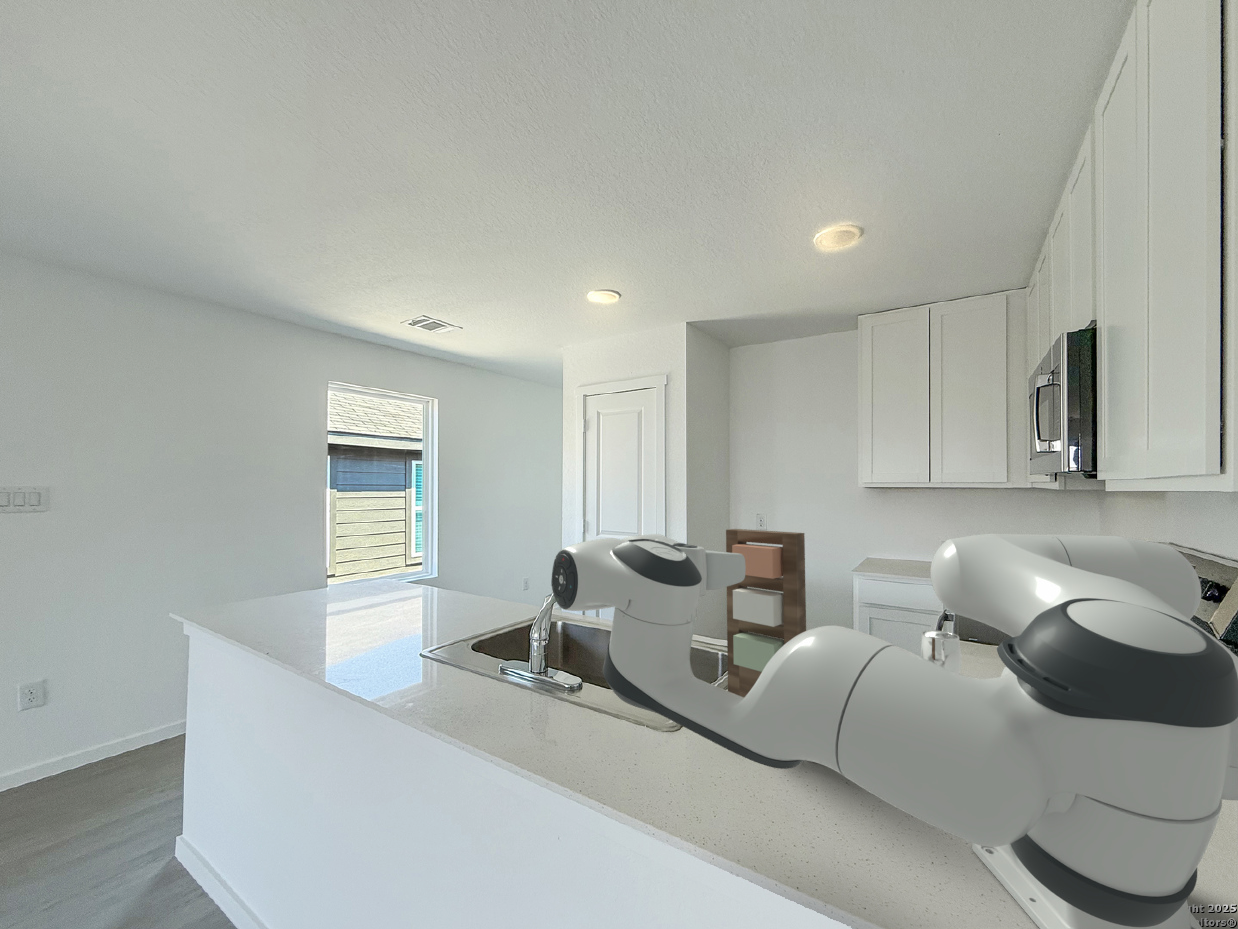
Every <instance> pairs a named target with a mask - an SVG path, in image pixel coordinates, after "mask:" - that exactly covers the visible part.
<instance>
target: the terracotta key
mask: <svg viewBox="0 0 1238 929" xmlns="http://www.w3.org/2000/svg"><path fill="white" fill-rule="evenodd" d="M732 553H739V554H742V555H743V556H744V558H745V565H746V572H745V575H749V576H756V577H764V578H771V579H774V578H778V577H783V546H778V545H777V546H776V545H768V544H767V545H765V544H764V545H763V544H756V543H752V544H751V543H747V544H738V545H732Z"/></svg>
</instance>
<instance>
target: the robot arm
mask: <svg viewBox="0 0 1238 929" xmlns="http://www.w3.org/2000/svg"><path fill="white" fill-rule="evenodd" d="M745 572H746V565H745V558H744V556H743V555H742V554H739V553H727V552H726V551H725V552H724V551H716V550H709V549H708V550H707V549H706V548H704V547H703V546H697V545H692V544H687V543H685V542H680V541H677V540H674V539H672V538H668V537H667V536H665V535H663V534H660V533H652V534H642V535H631V536H630V535H629V536H627V537H624V538H622V539H620V538H613V537H608V538H600V539H599V538H598V539H592V540H587V541H582V542H577V543H574V544H570V545H568V546H565V547H564V548H562V549H560V551H558V553H557V554H556V556H555V557H554V560H553V564H552V571H551V584H550V586H551V590H552V594H553V597H554V600H555V602H556V604H557V605H558V606H559V608H560V609H562V610H564V611H570V612H582V611H583V612H585V611H596V610H597V611H598V610H604V609H610V608H614V610H613V616H612V617H613V618H612V625H611V630H610V639H609V642H608V645H607V649H606V653H605V658H604V662H603V666H602V675H603V677H604V679H605V681H606V683H607V685H608V686H609V688H610V689H611V691H612V692H613V693H614V694H615V695H616V696H617V698H618V699H620V700H621V701H623V702H624V703H625V704H628V705H630V706H633V707H636V708H639V709H642V710H645V711H649V712H653V713H655V714H658V715H660V716H662V717H664V718H666V719H668V720H670V721H671V722H674V723H676V725H677V724H678V725H679V726H681V727H684V728H685V729H687V730H689V731H691V732H693V733H695V734H697V735H699V736H701V737H703V738H705V739H707V740H708V741H710V742H712V743H714V744H716V745H718V746H720V747H722V748H724V749H726V750H728V751H730V752H732V753H735V754H736V755H738V756H740V757H743V758H744V759H747V760H748V761H749V760H750V761H753V762H754V763H757V764H759V765H763V766H766V767H768V768H769V767H770V768H774V769H781V770H782V769H783V770H787V769H793V768H796V767H797V766H800V765H801V764H803V762H804V761H807V762H813V763H815V764H819V765H822V766H825V767H827V768H829V769H832V770H833V771H835V772H837V773H838V774H840V775H842V776H843V777H845V778H846V779H848V780H849V781H851V782H852V783H854V784H856V785H857V786H859V787H860V788H862V789H864V790H865V791H867V792H869V793H870V794H872V795H874V796H875V797H877V798H879V799H881V800H883V801H884V802H886V803H887V804H890V805H891V806H893V807H895V808H896V809H899V810H901V811H903V812H904V813H906V814H908V815H910V816H912V817H914V818H916V819H918V820H920V821H922V822H925V823H927V824H928V825H931V826H933V827H935V828H937V829H939V830H941V831H944V832H946V833H948V834H950V835H953V836H955V837H958V838H960V839H962V840H964V841H967V842H969V843H971V850H972V851H973V853H975V855H976V856H977V857H978V858H979V859H980V860H981V862H982V863H983V864H984V865H985V867H987V868H988V870H989V871H990V872H991V874H992V875H994V877H995V878H996V879H997V881H999V882H1000V884H1001V885H1002V887H1004V889H1006V891H1007V892H1008V893H1009V894H1010V895H1011V897H1012V898H1013V899H1014V900H1015V901H1016V903H1017V904H1018V905H1019V906H1020V907H1021V908H1022V910H1023V911H1024V912H1025V913H1026V914H1027V915H1028V916H1029V918H1030V919H1031V920H1032V921H1033V922H1034V924H1035V925H1036V926H1037V927H1038V928H1039V929H1203V928H1202V926H1201V925H1200V923H1199V922H1198V921H1197V919H1196V918H1195V916H1194V915H1193V914H1192V912H1191V911H1190V909H1189V903H1188V898H1189V897H1190V896H1191V894H1192V893H1193V891H1194V889H1195V887H1196V885H1197V880H1198V866H1199V865H1200V862H1201V860H1202V859H1203V858H1204V855H1205V852H1206V850H1207V848H1208V846H1209V844H1210V841H1211V839H1212V836H1213V834H1214V831H1215V828H1216V826H1217V823H1218V820H1219V817H1220V814H1221V810H1222V805H1223V803H1222V800H1225V801H1238V656H1237V655H1236V654H1235V653H1234V652H1233V651H1231V650H1230V649H1229V648H1228V647H1227V646H1225V645H1224V644H1223V643H1222V642H1220V641H1219V640H1218V639H1217V638H1215V637H1214V636H1212V634H1210V633H1209V632H1207V631H1206V630H1204V628H1202V627H1200V626H1199V625H1197V624H1196V623H1195V622H1194V621H1193V620H1191V619H1192V618H1193V617H1194V615H1195V614H1196V612H1197V611H1198V608H1199V607H1200V604H1201V599H1202V586H1201V581H1200V578H1199V574H1198V573H1197V571H1196V569H1195V568H1194V566H1193V565H1192V564H1191V562H1190V561H1189V560H1188V559H1187V558H1186V556H1184V555H1183V554H1182V553H1181V552H1180V551H1178V550H1177V549H1176V548H1174V547H1172V546H1171V545H1169V544H1165V543H1160V542H1159V543H1158V542H1155V541H1149V540H1143V539H1139V538H1133V537H1132V538H1131V537H1127V536H1120V535H1098V534H1097V535H1096V534H1093V535H1092V534H1091V535H1089V534H1033V533H1029V534H1026V533H995V532H993V533H990V532H989V533H981V534H980V533H978V534H973V535H966V536H960V537H952V538H948V539H946V541H944V542H943V543H941V545H940V546H939V547H938V548H937V550H936V552H935V553H934V554H933V558H932V560H931V564H930V572H929V573H930V580H931V582H930V583H931V585H932V588H933V590H934V593H935V594H936V596H937V598H938V599H939V601H940V603H941V604H942V605H943V606H944V607H945V608H946V609H947V610H949V612H950V613H951V614H955V615H958V616H961V617H964V618H967V619H969V620H973V621H977V622H980V623H982V624H984V625H987V626H989V627H992V628H994V629H997V630H998V631H1000V632H1001V633H1002V632H1003V633H1004V634H1007V635H1009V636H1010V638H1006V639H1004V640H1002V642H1000V644H998V646H997V647H996V652H997V655H998V657H999V658H1000V660H1001V662H1002V663H1003V664H1004V665H1005V666H1004V668H1003V670H1002V672H1001V675H1000V676H997V677H988V678H987V677H985V678H984V677H981V678H980V677H972V676H968V675H965V674H961V673H960V674H959V673H956V672H953V671H951V670H948V669H946V668H943V667H941V666H939V665H937V664H935V663H933V662H931V661H929V660H927V659H925V658H923V657H921V655H918V654H916V653H914V652H911V651H909V650H907V649H904V648H902V647H901V646H898V645H896V644H893V643H891V642H889V641H887V640H884V639H882V638H880V637H876V636H875V635H871V634H868V633H866V632H863V631H861V630H856V629H852V628H849V627H847V626H841V625H835V624H834V625H833V624H832V625H822V626H818V627H817V626H816V627H813V628H811V629H806V631H805V632H803V633H801V634H799V635H797V636H795V637H794V638H793V639H791V640H790V641H788V642H787V643H786V644H785V645H783V646H782V647H781V648H780V649H779V650H778V651H777V652H776V653H775V654H774V656H773V657H772V658H771V659H770V660H769V662H768V663H767V664H766V666H765V668H764V669H763V671H762V673H761V675H760V676H759V678H758V680H757V681H756V683H755V684H754V686H753V687H752V689H751V690H750V691H749V693H748V694H747V695H746V696H745V697H741V696H739V695H736V694H734V693H731V692H729V691H728V690H726V689H724V688H721V687H719V686H717V685H714V684H712V683H709V682H706V681H704V680H703V679H700V678H697V677H696V676H695V675H694V673H693V670H692V667H691V666H692V665H691V658H690V657H691V648H692V644H693V643H692V641H693V636H694V631H695V630H694V629H695V622H696V618H697V614H698V610H699V602H700V598H702V597H704V596H706V595H707V594H706V592H707V591H714V590H720V589H723V588H727V586H731V585H734V584H737V583H740V582H742V581H743V580H744V578H745Z"/></svg>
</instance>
